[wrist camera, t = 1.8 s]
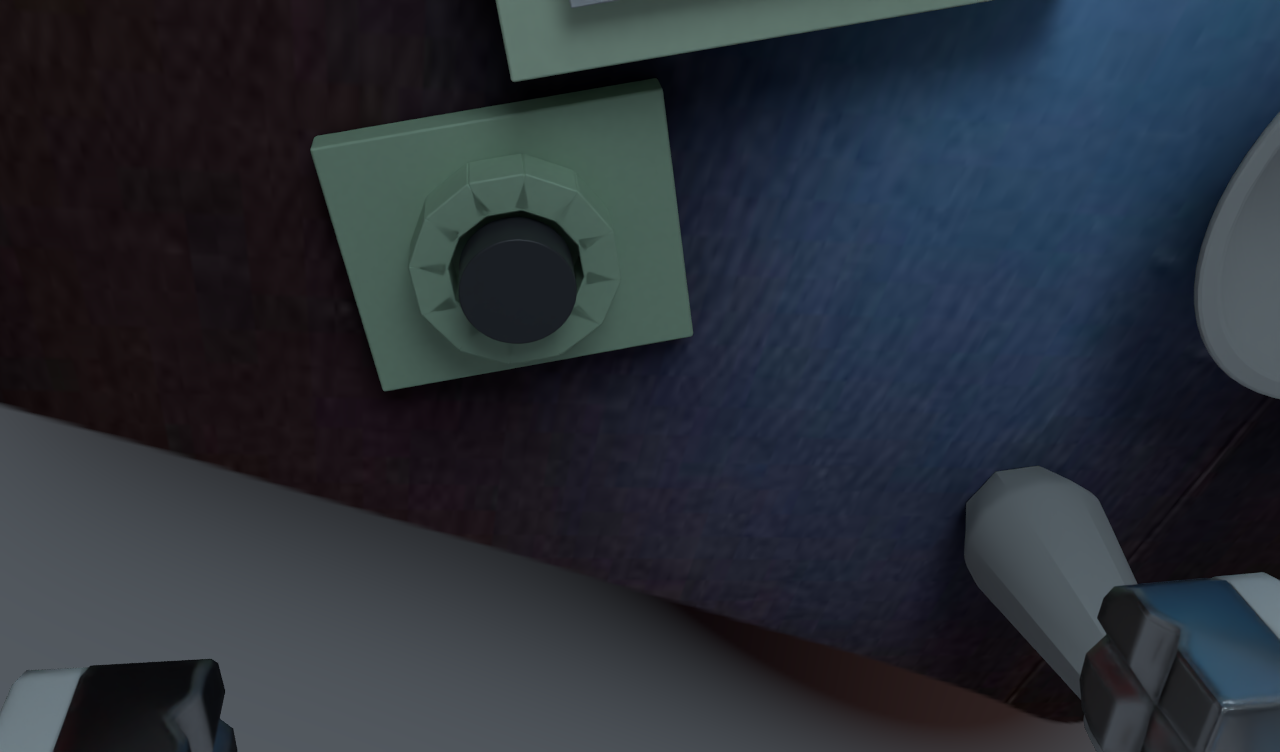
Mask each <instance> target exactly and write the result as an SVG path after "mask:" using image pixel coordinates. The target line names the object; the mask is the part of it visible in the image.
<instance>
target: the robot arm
mask: <svg viewBox="0 0 1280 752" xmlns="http://www.w3.org/2000/svg"><path fill="white" fill-rule="evenodd" d="M1097 619H1098V621H1099V622H1100V624H1101V626H1102V627H1103V629H1104V631H1105V632H1106V635H1105V636H1104V637H1103V638H1102V639H1101V640H1100V641H1099V642H1098V643H1097V644H1095V645H1094V646H1093V647H1092V648H1091V649H1090V650H1089V651H1088V652H1087V653H1086V655H1085V659H1084V663H1083V667H1082V671H1081V675H1080V679H1079V682H1080V693H1081V703H1082V710H1083V712H1084V715H1085V718H1086V721H1087V723H1088V726H1089V729H1090V731H1091V733H1092V734H1093V736H1094V738H1095V739H1096V741H1097V743H1098V744H1099V746H1100V748H1101V749H1102V751H1103V752H1280V581H1279V580H1278V579H1276V578H1274V577H1272V576H1270V575H1268V574H1266V573H1264V572H1261V573H1250V574H1240V575H1229V576H1218V577H1213V578H1211V579H1208V578H1201V579H1190V580H1179V581H1168V582H1156V583H1145V584H1134V585H1123V586H1114V587H1113V588H1112V589H1111V590H1110V591H1109V593H1108V594H1107V595H1106V596H1105V597H1104V598H1103V601H1102V604H1101V607H1100V610H1099V613H1098V616H1097ZM224 695H225V689H224V685H223V681H222V677H221V673H220V669H219V665H218V663H217V662H215V661H214V660H212V659H200V660H182V661H167V662H166V661H164V662H147V663H129V664H112V665H94V666H90V667H88V668H70V669H69V668H67V669H47V670H27V671H26V672H25V673H24V674H23V675H22V676H20V677H19V679H17V680H16V681H15V683H14V684H13V685H12V687H11V689H10V691H9V694H8V696H7V698H6V700H5V702H4V705H3V707H2V709H1V712H0V752H237V746H236V741H235V736H234V731H233V728H232V727H230V726H229V725H228V724H226V723H225V722H224V721H222V720H221V719H220V714H221V709H222V704H223V699H224Z"/></svg>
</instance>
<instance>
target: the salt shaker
mask: <svg viewBox="0 0 1280 752" xmlns="http://www.w3.org/2000/svg"><path fill="white" fill-rule="evenodd" d="M964 559H965V562H966V565H967V568H968V569H969V571H970V573H971V575H972V577H973V579H974V581H975V583H976V584H977V586H978V587H979V588H980V590H981V591H982V592H983V593H984V594H985V595H986V596H987V597H988V598H989V599H990V601H991V602H992V603H993V604H994V605H995V606H996V607H997V608H998V609H999V610H1000V611H1001V613H1002V614H1003V615H1004V616H1005V617H1006V618H1007V619H1008V620H1009V621H1010V622H1011V624H1012V625H1013V626H1014V627H1015V628H1016V629H1017V630H1018V631H1019V632H1020V633H1021V634H1022V636H1023V637H1024V638H1025V639H1026V640H1027V641H1028V642H1029V643H1030V644H1031V645H1032V646H1033V648H1034V649H1035V650H1036V651H1037V652H1038V653H1039V654H1040V655H1041V656H1042V657H1043V659H1044V660H1045V661H1046V662H1047V663H1048V664H1049V665H1050V666H1051V667H1052V668H1053V669H1054V671H1055V672H1056V673H1057V674H1058V675H1059V676H1060V677H1061V678H1062V679H1063V680H1064V682H1065V683H1066V684H1067V685H1068V686H1069V687H1070V688H1071V689H1072V690H1073V691H1074V692H1075V694H1076V695H1077V696H1078V697H1079V698H1080V699H1081V693H1080V682H1079V679H1080V675H1081V671H1082V667H1083V663H1084V659H1085V655H1086V653H1087V652H1088V651H1089V650H1090V649H1091V648H1092V647H1093V646H1094V645H1095V644H1097V643H1098V642H1099V641H1100V640H1101V639H1102V638H1103V637H1104V636H1105V635H1106V632H1105V631H1104V629H1103V627H1102V626H1101V624H1100V622H1099V621H1098V619H1097V616H1098V613H1099V610H1100V607H1101V604H1102V601H1103V598H1104V597H1105V596H1106V595H1107V594H1108V593H1109V591H1110V590H1111V589H1112V588H1113V587H1114V586H1123V585H1134V584H1137V582H1136V580H1135V578H1134V576H1133V573H1132V571H1131V569H1130V567H1129V565H1128V563H1127V560H1126V558H1125V556H1124V554H1123V552H1122V549H1121V547H1120V545H1119V543H1118V541H1117V539H1116V536H1115V534H1114V532H1113V530H1112V528H1111V525H1110V523H1109V521H1108V519H1107V517H1106V515H1105V513H1104V510H1103V508H1102V506H1101V504H1100V502H1099V500H1098V499H1097V498H1096V497H1095V496H1094V495H1093V494H1092V493H1091V492H1090V491H1088V490H1086V489H1084V488H1083V487H1081V486H1079V485H1077V484H1076V483H1074V482H1072V481H1070V480H1068V479H1066V478H1064V477H1062V476H1060V475H1058V474H1055V473H1053V472H1051V471H1049V470H1047V469H1045V468H1042V467H1040V466H1033V467H1026V468H1019V469H1012V470H1005V471H998V472H995V473H994V474H993V475H992V476H991V477H990V478H989V479H988V481H987V482H986V483H985V484H984V485H983V486H982V487H981V488H980V489H979V490H978V491H977V492H976V493H975V494H974V495H973V496H972V497H971V499H970V500H969V501H968V502H967V503H966V533H965V547H964ZM1084 726H1085V730H1086V731H1087V734H1088V736H1089V738H1090V740H1091V742H1092V744H1093V746H1094V748H1095V750H1096V751H1097V752H1103V751H1102V749H1101V748H1100V746H1099V744H1098V743H1097V741H1096V739H1095V738H1094V736H1093V734H1092V733H1091V731H1090V729H1089V726H1088V723H1087V721H1086V718H1085V715H1084Z"/></svg>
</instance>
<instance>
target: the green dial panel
mask: <svg viewBox="0 0 1280 752" xmlns="http://www.w3.org/2000/svg"><path fill="white" fill-rule="evenodd" d="M310 152H311V155H312V158H313V162H314V165H315V168H316V172H317V175H318V178H319V181H320V185H321V188H322V191H323V195H324V198H325V201H326V205H327V208H328V211H329V214H330V218H331V221H332V224H333V228H334V231H335V234H336V238H337V241H338V244H339V248H340V251H341V254H342V257H343V261H344V264H345V267H346V271H347V274H348V277H349V281H350V284H351V287H352V290H353V294H354V297H355V300H356V304H357V307H358V310H359V314H360V317H361V320H362V324H363V327H364V330H365V333H366V337H367V340H368V343H369V347H370V350H371V353H372V357H373V360H374V363H375V367H376V370H377V373H378V376H379V380H380V383H381V386H382V389H383V391H390V390H396V389H401V388H407V387H413V386H418V385H424V384H429V383H435V382H440V381H446V380H452V379H457V378H463V377H468V376H474V375H479V374H485V373H490V372H496V371H502V370H507V369H513V368H518V367H524V366H529V365H535V364H541V363H546V362H552V361H557V360H563V359H568V358H574V357H580V356H585V355H591V354H596V353H602V352H607V351H613V350H618V349H624V348H630V347H635V346H641V345H646V344H652V343H657V342H663V341H669V340H674V339H680V338H685V337H691V336H692V335H693V329H692V321H691V313H690V305H689V297H688V289H687V281H686V273H685V265H684V256H683V248H682V240H681V232H680V224H679V216H678V208H677V200H676V192H675V184H674V176H673V168H672V160H671V152H670V144H669V136H668V128H667V120H666V112H665V104H664V96H663V90H662V88H661V85H660V83H659V81H658V79H656V78H653V79H647V80H642V81H636V82H630V83H624V84H618V85H612V86H607V87H601V88H595V89H589V90H583V91H577V92H571V93H566V94H560V95H554V96H548V97H542V98H536V99H531V100H525V101H519V102H513V103H507V104H501V105H495V106H490V107H484V108H478V109H472V110H466V111H460V112H455V113H449V114H443V115H437V116H431V117H425V118H420V119H414V120H408V121H402V122H396V123H390V124H384V125H379V126H373V127H367V128H361V129H355V130H349V131H344V132H338V133H332V134H326V135H320V136H316V137H314V140H313V143H312V146H311V149H310ZM506 217H526V218H531V219H535V220H538V221H540V222H543V223H544V224H546V225H548V226H550V227H551V228H552V229H554V230H555V231H556V232H557V233H558V234H559V235H560V236H561V237H562V238H563V240H564V241H565V243H566V244H567V246H568V248H569V250H570V253H571V257H572V261H573V267H574V273H575V279H576V286H577V296H576V302H575V305H574V308H573V310H572V312H571V314H570V316H569V317H568V319H567V320H566V322H565V323H564V324H563V325H562V326H561V327H560V328H559V329H558V330H556V331H555V332H554V333H552V334H551V335H549V336H547V337H545V338H543V339H540V340H538V341H534V342H530V343H523V344H512V343H504V342H500V341H497V340H494V339H491V338H489V337H487V336H485V335H484V334H482V333H481V332H479V331H478V330H477V329H476V328H475V327H474V326H473V325H472V324H471V323H470V322H469V321H468V319H467V318H466V316H465V315H464V313H463V310H462V308H461V305H460V301H459V261H460V256H461V253H462V250H463V248H464V246H465V244H466V243H467V241H468V240H469V238H470V237H471V236H472V235H473V234H474V233H475V232H476V231H477V230H478V229H480V228H481V227H483V226H484V225H486V224H488V223H490V222H492V221H495V220H497V219H501V218H506Z"/></svg>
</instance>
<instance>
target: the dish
mask: <svg viewBox="0 0 1280 752" xmlns="http://www.w3.org/2000/svg"><path fill="white" fill-rule="evenodd" d="M1194 308H1195V315H1196V322H1197V325H1198V329H1199V332H1200V335H1201V338H1202V340H1203V342H1204V345H1205V347H1206V349H1207V351H1208V353H1209V354H1210V356H1211V357H1212V358H1213V360H1214V361H1215V362H1216V364H1217V365H1218V366H1219V367H1220V368H1221V369H1222V370H1223V371H1224V372H1225V373H1226V374H1227V375H1228V376H1229V377H1231V378H1232V379H1234V380H1235V381H1237V382H1238V383H1240V384H1241V385H1243V386H1245V387H1247V388H1249V389H1251V390H1253V391H1255V392H1258V393H1260V394H1264V395H1267V396H1270V397H1273V398H1277V399H1280V112H1279V113H1278V114H1277V115H1276V116H1275V118H1274V119H1273V120H1272V121H1271V122H1270V124H1269V125H1268V126H1267V127H1266V128H1265V130H1264V131H1263V132H1262V134H1261V135H1260V136H1259V138H1258V139H1257V140H1256V142H1255V143H1254V145H1253V146H1252V147H1251V149H1250V150H1249V151H1248V153H1247V154H1246V156H1245V157H1244V159H1243V160H1242V162H1241V164H1240V165H1239V167H1238V168H1237V170H1236V171H1235V173H1234V174H1233V176H1232V178H1231V180H1230V181H1229V183H1228V185H1227V187H1226V189H1225V191H1224V192H1223V194H1222V196H1221V198H1220V200H1219V202H1218V204H1217V206H1216V209H1215V211H1214V213H1213V215H1212V218H1211V220H1210V222H1209V225H1208V228H1207V231H1206V233H1205V236H1204V239H1203V242H1202V245H1201V249H1200V253H1199V258H1198V262H1197V266H1196V274H1195V282H1194Z"/></svg>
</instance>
